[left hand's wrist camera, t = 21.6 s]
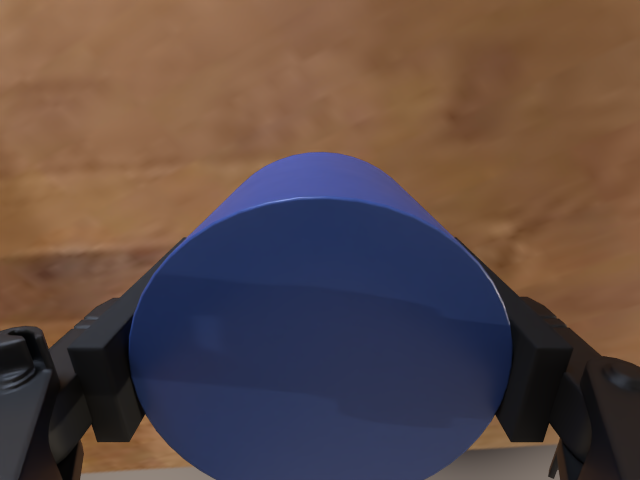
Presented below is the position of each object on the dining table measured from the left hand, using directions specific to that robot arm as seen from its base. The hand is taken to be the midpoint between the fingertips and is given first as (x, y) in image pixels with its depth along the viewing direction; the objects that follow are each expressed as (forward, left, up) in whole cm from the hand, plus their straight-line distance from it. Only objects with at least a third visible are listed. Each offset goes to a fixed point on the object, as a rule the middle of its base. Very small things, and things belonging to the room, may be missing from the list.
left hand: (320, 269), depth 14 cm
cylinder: (0, 0, -1) cm, 1 cm away
